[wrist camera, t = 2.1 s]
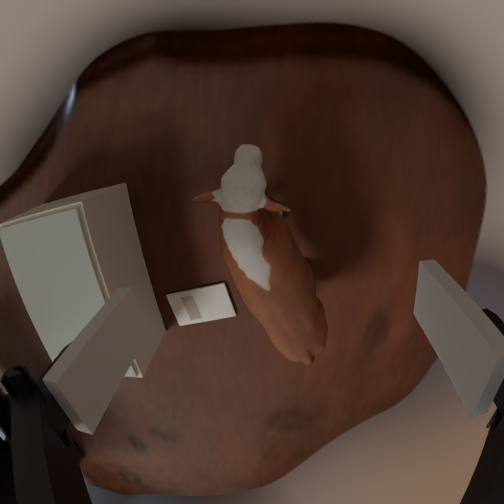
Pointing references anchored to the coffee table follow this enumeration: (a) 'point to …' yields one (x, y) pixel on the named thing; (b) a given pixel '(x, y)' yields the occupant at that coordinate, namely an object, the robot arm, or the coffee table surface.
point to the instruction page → (201, 304)
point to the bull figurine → (267, 260)
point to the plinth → (80, 266)
